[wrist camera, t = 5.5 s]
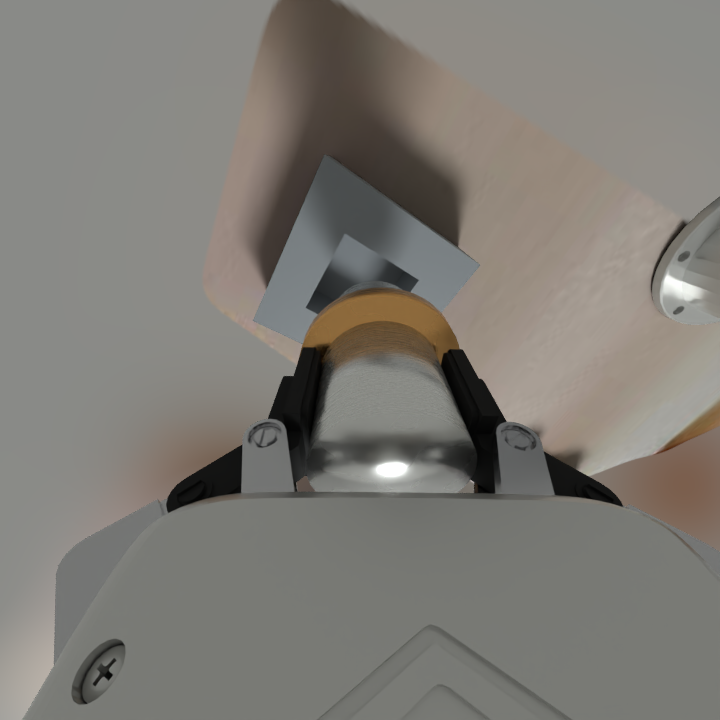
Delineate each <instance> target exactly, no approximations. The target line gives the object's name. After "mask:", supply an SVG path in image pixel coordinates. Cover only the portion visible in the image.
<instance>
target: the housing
mask: <svg viewBox="0 0 720 720" xmlns="http://www.w3.org/2000/svg"><path fill="white" fill-rule="evenodd" d="M479 266H480V264H478V263H477V262H476V261H475V260H473V259H472V258H471V257H470V256H468V255H467V254H466V253H465V252H464V251H462V250H461V249H460V248H459V247H457V246H456V245H454V244H453V243H452V242H450V241H449V240H447V239H446V238H445V237H443V236H442V235H440V234H439V233H438V232H436V231H435V230H433V229H432V228H430V227H429V226H428V225H426V224H425V223H423V222H422V221H421V220H419V219H418V218H416V217H415V216H414V215H412V214H411V213H409V212H408V211H407V210H405V209H404V208H402V207H401V206H400V205H398V204H397V203H395V202H394V201H393V200H391V199H390V198H388V197H387V196H386V195H384V194H383V193H381V192H380V191H379V190H377V189H376V188H374V187H373V186H372V185H370V184H369V183H367V182H366V181H365V180H363V179H362V178H360V177H359V176H358V175H356V174H355V173H353V172H352V171H350V170H349V169H348V168H346V167H345V166H343V165H342V164H341V163H339V162H338V161H336V160H335V159H334V158H332V157H331V156H328V155H325V154H324V156H323V159H322V161H321V163H320V166H319V168H318V170H317V173H316V175H315V177H314V180H313V182H312V184H311V187H310V189H309V191H308V194H307V196H306V198H305V201H304V203H303V205H302V208H301V210H300V212H299V215H298V217H297V219H296V222H295V224H294V226H293V229H292V231H291V233H290V236H289V238H288V240H287V243H286V245H285V247H284V250H283V252H282V254H281V257H280V259H279V261H278V264H277V266H276V268H275V271H274V273H273V275H272V278H271V280H270V282H269V285H268V287H267V289H266V292H265V294H264V296H263V299H262V301H261V303H260V306H259V308H258V310H257V313H256V315H255V317H254V319H253V321H254V322H257V323H259V324H261V325H263V326H265V327H267V328H269V329H271V330H274V331H276V332H278V333H280V334H282V335H284V336H286V337H288V338H291V339H293V340H295V341H297V342H299V343H301V344H303V342H304V338H305V335H306V333H307V330H308V328H309V326H310V325H311V323H312V321H313V320H314V318H315V317H316V316H317V315H318V314H319V313H320V312H321V311H322V310H323V309H324V308H325V307H326V306H328V305H329V304H330V303H332V302H333V301H335V300H336V299H338V298H339V297H340V296H341V295H342V294H343V293H344V292H345V291H346V290H348V289H349V288H351V287H352V286H355V285H357V284H359V283H362V282H367V281H383V282H388V283H391V284H393V285H395V286H397V287H399V288H400V289H402V290H405V291H408V292H411V293H414V294H416V295H418V296H420V297H422V298H424V299H426V300H427V301H428V302H430V303H431V304H433V305H434V306H435V307H436V308H437V309H438V310H439V311H440V312H442V311H443V310H444V309H445V307H446V306H447V305H448V304H449V303H450V301H451V300H452V299H453V298H454V296H455V295H456V294H457V293H458V292H459V290H460V289H461V288H462V287H463V286H464V284H465V283H466V282H467V281H468V279H469V278H470V277H471V276H472V275H473V273H474V272H475V271H476V270H477V269H478V267H479Z"/></svg>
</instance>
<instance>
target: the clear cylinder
mask: <svg viewBox="0 0 720 720" xmlns="http://www.w3.org/2000/svg"><path fill="white" fill-rule="evenodd" d="M303 347H316V351H321V360H322V368H321V374H320V380H319V387H318V393H317V400H316V406H315V412H314V419H313V425H312V432H311V438H310V444H309V451H308V457H307V463H306V474H307V477H308V480H309V482H310V484H311V486H312V487H313V488H314V490H315V491H316V492H411V493H457V492H459V491H460V490H461V489H462V488H463V487H464V486H465V485H466V484H467V483H468V482H469V481H470V479H471V478H472V476H473V474H474V472H475V469H476V466H477V453H476V449H475V447H474V444H473V442H472V440H471V437H470V435H469V432H468V430H467V428H466V425H465V423H464V420H463V418H462V416H461V413H460V411H459V408H458V406H457V403H456V401H455V399H454V396H453V394H452V391H451V389H450V387H449V384H448V382H447V379H446V377H445V374H444V372H443V370H442V367H441V362H442V357H443V354H444V353H445V352H448V350H449V349H459V345H458V342H457V339H456V337H455V335H454V333H453V331H452V329H451V328H450V326H449V324H448V322H447V320H446V319H445V317H444V316H443V315H442V313H441V312H440V311H439V310H438V309H437V308H436V307H435V306H434V305H433V304H431V303H430V302H428V301H427V300H426V299H424V298H422V297H420V296H418V295H416V294H414V293H411V292H408V291H405V290H402V289H400V288H399V287H397V286H395V285H393V284H391V283H388V282H383V281H367V282H362V283H359V284H357V285H355V286H352V287H351V288H349V289H348V290H346V291H345V292H344V293H343V294H342V295H341V296H340V297H339V298H338V299H336V300H335V301H333V302H332V303H330V304H329V305H328V306H326V307H325V308H324V309H323V310H322V311H321V312H320V313H319V314H318V315H317V316H316V317H315V318H314V320H313V321H312V323H311V325H310V326H309V328H308V330H307V333H306V335H305V338H304V342H303V345H302V348H303ZM301 351H302V349H301ZM300 354H301V353H300Z"/></svg>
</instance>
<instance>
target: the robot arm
mask: <svg viewBox="0 0 720 720" xmlns="http://www.w3.org/2000/svg"><path fill="white" fill-rule="evenodd" d="M652 297H653V301H654V304H655V306H656V307H657V309H658V310H659V312H661V313H662V314H663V315H665V316H666V317H668V318H670V319H672V320H675V321H677V322H679V323H683V324H688V325H703V324H710V323H716V322H720V197H719V198H717V199H716V200H715V201H713V202H712V203H711V204H710V205H709V206H707V207H706V208H705V209H703V210H702V211H701V212H700V213H699V214H698V215H697V216H696V217H695V218H694V219H693V220H691V221H690V222H689V223H688V224H687V225H686V226H685V227H684V229H683V230H682V231H681V232H680V233H679V235H678V236H677V237H676V238H675V239H674V241H673V242H672V243H671V245H670V246H669V248H668V249H667V251H666V252H665V254H664V255H663V257H662V259H661V261H660V263H659V266H658V268H657V270H656V273H655V276H654V280H653V284H652ZM441 367H442V370H443V372H444V374H445V377H446V379H447V382H448V384H449V387H450V389H451V391H452V394H453V396H454V399H455V401H456V403H457V406H458V408H459V411H460V413H461V416H462V418H463V420H464V423H465V425H466V428H467V430H468V432H469V435H470V437H471V440H472V442H473V444H474V447H475V449H476V453H477V466H476V469H475V472H474V474H473V476H472V478H471V480H472V481H474V493H411V492H298V491H297V485H296V482H297V481H299V480H300V479H301V478H303V477H304V476H307V474H306V463H307V457H308V451H309V444H310V438H311V432H312V425H313V419H314V412H315V406H316V400H317V393H318V387H319V380H320V374H321V368H322V360H321V351H316V347H303V348H302V351H301V354H300V357H299V361H298V364H297V367H296V370H295V374H294V376H284V377H283V379H282V382H281V384H280V387H279V389H278V392H277V395H276V398H275V400H274V404H273V406H272V409H271V411H270V415H269V417H268V419H264V420H261V421H257V422H256V423H254V424H252V425H251V426H250V427H249V428H248V429H247V430H246V431H245V433H244V436H243V444H242V445H241V446H239V447H237V448H236V449H234V450H233V451H231V452H229V453H228V454H226V455H224V456H223V457H221V458H219V459H217V460H216V461H214V462H212V463H211V464H209V465H207V466H206V467H204V468H202V469H201V470H199V471H197V472H196V473H194V474H192V475H191V476H189V477H187V478H186V479H184V480H183V481H181V482H180V483H179V484H177V485H176V487H175V488H174V489H173V490H172V491H171V493H170V495H169V496H168V498H167V499H165V500H163V501H162V502H160V501H159V500H156V501H154V502H152V503H150V504H148V505H146V506H145V507H143V508H141V509H139V510H137V511H135V512H134V513H132V514H130V515H128V516H126V517H124V518H122V519H121V520H119V521H117V522H115V523H113V524H111V525H109V526H108V527H106V528H104V529H102V530H100V531H99V532H96V533H95V534H93V535H91V536H89V537H87V538H85V539H84V540H82V541H81V542H79V543H78V544H76V545H75V546H74V547H73V548H72V549H71V550H70V551H69V552H68V553H67V554H66V555H65V556H64V558H63V559H62V561H61V563H60V564H59V566H58V570H57V573H56V599H55V641H54V643H55V644H54V667H53V668H52V670H51V672H50V673H49V675H48V677H47V679H46V680H45V682H44V684H43V685H42V687H41V689H40V690H39V692H38V694H37V696H36V697H35V699H34V701H33V702H32V704H31V706H30V708H29V709H28V711H27V713H26V715H25V716H24V718H23V720H720V552H719V551H717V550H716V549H714V548H713V547H711V546H709V545H708V544H706V543H704V542H702V541H700V540H698V539H696V538H694V537H692V536H690V535H688V534H686V533H684V532H682V531H680V530H678V529H677V528H675V527H673V526H671V525H669V524H667V523H665V522H663V521H661V520H659V519H657V518H655V517H653V516H651V515H649V514H647V513H645V512H643V511H641V510H639V509H637V508H635V507H634V506H632V505H630V504H629V505H628V506H626V507H625V506H623V505H622V503H621V501H620V500H619V499H618V497H617V496H616V495H615V494H614V493H613V492H612V491H611V490H610V489H608V488H607V487H605V486H604V485H602V484H601V483H599V482H597V481H596V480H594V479H592V478H590V477H588V476H587V475H585V474H583V473H581V472H579V471H578V470H576V469H574V468H572V467H570V466H569V465H567V464H565V463H563V462H561V461H560V460H558V459H556V458H554V457H552V456H551V455H549V454H547V453H545V452H544V451H543V447H542V443H541V441H540V439H539V437H538V436H537V435H536V433H535V432H533V431H532V430H531V429H529V428H528V427H526V426H524V425H522V424H519V423H515V422H506V420H505V418H504V416H503V414H502V413H501V411H500V409H499V407H498V406H497V404H496V402H495V400H494V398H493V397H492V395H491V393H490V391H489V390H488V388H487V386H486V384H485V383H484V381H483V380H482V379H479V378H478V376H477V375H476V373H475V371H474V369H473V367H472V365H471V364H470V362H469V360H468V358H467V356H466V355H465V353H464V351H463V350H462V349H449V350H448V352H445V353H444V354H443V357H442V362H441Z"/></svg>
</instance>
